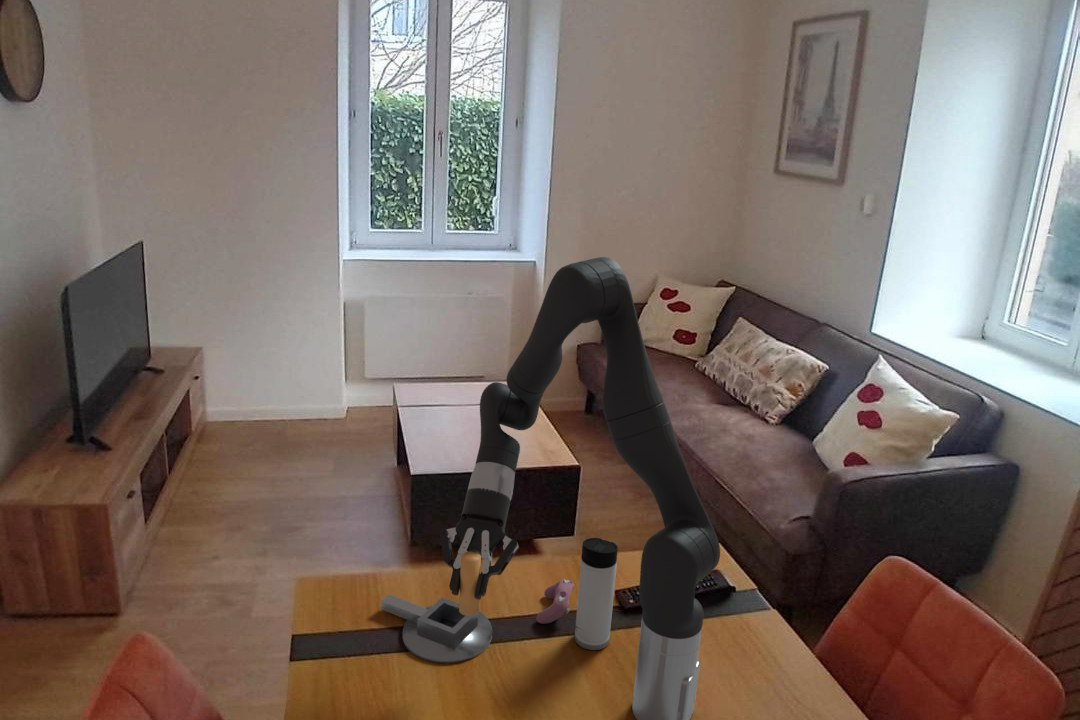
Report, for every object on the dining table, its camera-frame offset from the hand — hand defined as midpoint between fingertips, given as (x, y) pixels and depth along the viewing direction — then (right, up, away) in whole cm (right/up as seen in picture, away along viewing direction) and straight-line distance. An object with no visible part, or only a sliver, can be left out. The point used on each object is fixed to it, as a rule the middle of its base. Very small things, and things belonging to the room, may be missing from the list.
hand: (466, 595), depth 132 cm
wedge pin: (0, -3, +3) cm, 4 cm away
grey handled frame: (-7, -11, +17) cm, 22 cm away
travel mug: (+21, -13, +17) cm, 30 cm away
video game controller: (+15, -10, +25) cm, 30 cm away
